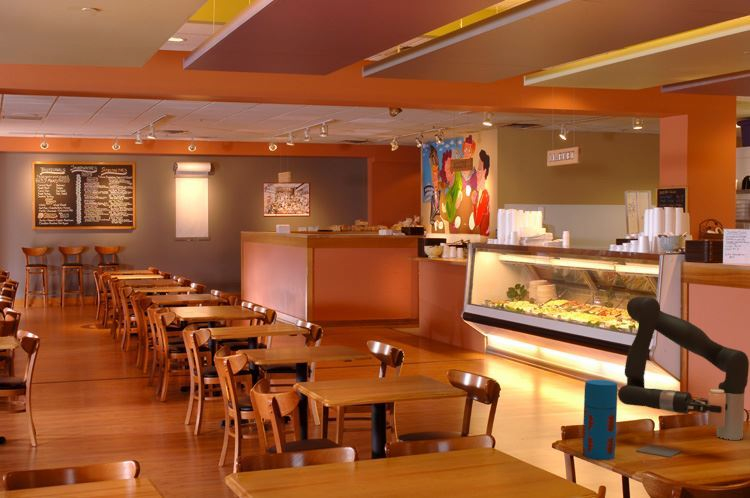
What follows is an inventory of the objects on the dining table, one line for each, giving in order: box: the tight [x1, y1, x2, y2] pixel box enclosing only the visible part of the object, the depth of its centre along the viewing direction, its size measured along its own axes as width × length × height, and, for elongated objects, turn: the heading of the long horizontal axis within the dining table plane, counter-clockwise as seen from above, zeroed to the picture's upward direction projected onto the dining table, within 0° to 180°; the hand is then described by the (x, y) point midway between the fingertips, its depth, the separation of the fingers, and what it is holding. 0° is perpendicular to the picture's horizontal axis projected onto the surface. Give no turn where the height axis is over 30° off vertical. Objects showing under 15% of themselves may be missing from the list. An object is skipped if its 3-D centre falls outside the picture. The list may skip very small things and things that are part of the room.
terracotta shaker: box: [707, 388, 726, 428], centre depth 324 cm, size 6×6×12 cm
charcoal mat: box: [635, 444, 684, 459], centre depth 331 cm, size 12×12×1 cm
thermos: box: [582, 379, 619, 461], centre depth 322 cm, size 11×11×25 cm
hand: (724, 408), depth 323 cm, fingers closed on terracotta shaker, 5 cm apart
